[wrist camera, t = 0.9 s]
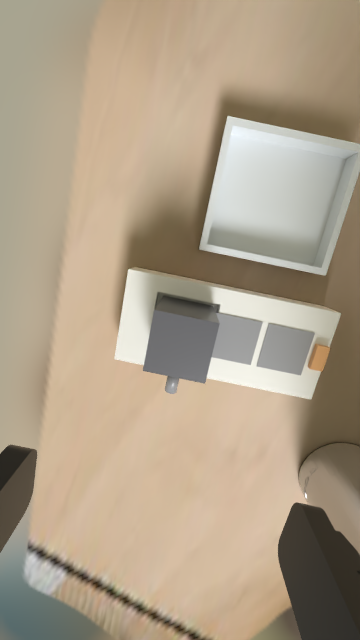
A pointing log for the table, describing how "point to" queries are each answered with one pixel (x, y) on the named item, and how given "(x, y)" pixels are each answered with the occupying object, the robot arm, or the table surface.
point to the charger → (181, 341)
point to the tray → (279, 195)
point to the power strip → (237, 331)
